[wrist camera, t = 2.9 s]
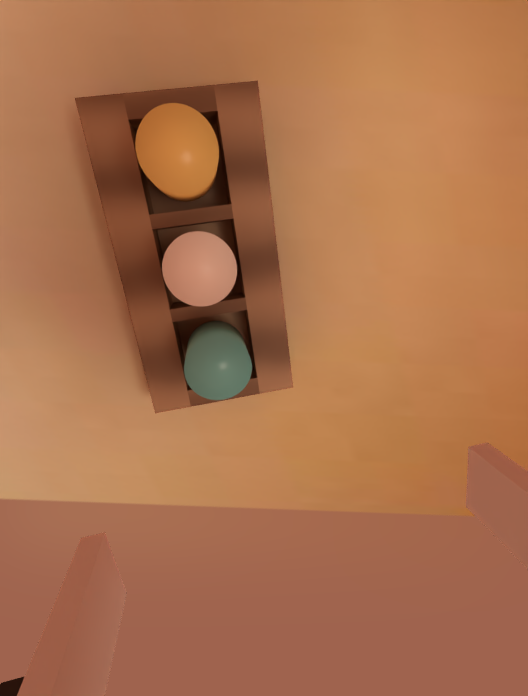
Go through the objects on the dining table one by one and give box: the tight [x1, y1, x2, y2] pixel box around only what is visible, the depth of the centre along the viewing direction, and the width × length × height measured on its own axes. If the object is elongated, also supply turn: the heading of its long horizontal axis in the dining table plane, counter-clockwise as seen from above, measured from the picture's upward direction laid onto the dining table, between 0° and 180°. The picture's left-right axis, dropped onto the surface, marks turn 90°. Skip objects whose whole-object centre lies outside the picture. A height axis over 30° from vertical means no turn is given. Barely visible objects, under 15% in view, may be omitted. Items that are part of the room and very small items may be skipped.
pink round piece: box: [162, 231, 237, 307], centre depth 26 cm, size 5×5×5 cm
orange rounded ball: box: [135, 103, 219, 202], centre depth 24 cm, size 5×5×5 cm
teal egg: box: [184, 321, 252, 400], centre depth 28 cm, size 5×5×5 cm
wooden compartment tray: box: [75, 81, 293, 413], centre depth 29 cm, size 23×12×4 cm, turn 7°
